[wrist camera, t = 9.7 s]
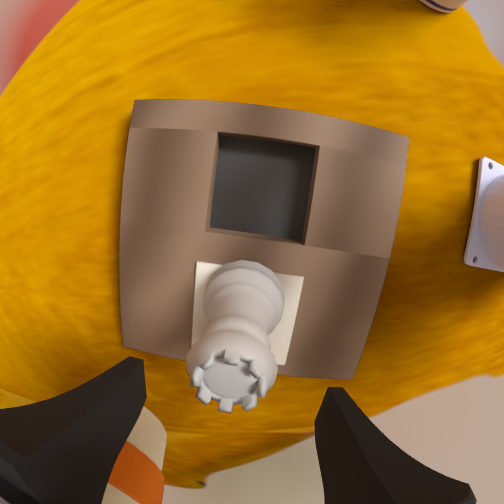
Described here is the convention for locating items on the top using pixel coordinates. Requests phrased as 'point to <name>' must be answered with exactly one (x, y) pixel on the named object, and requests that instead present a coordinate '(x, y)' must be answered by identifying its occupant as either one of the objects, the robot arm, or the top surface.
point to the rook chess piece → (237, 336)
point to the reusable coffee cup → (139, 465)
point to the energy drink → (444, 4)
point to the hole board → (257, 224)
